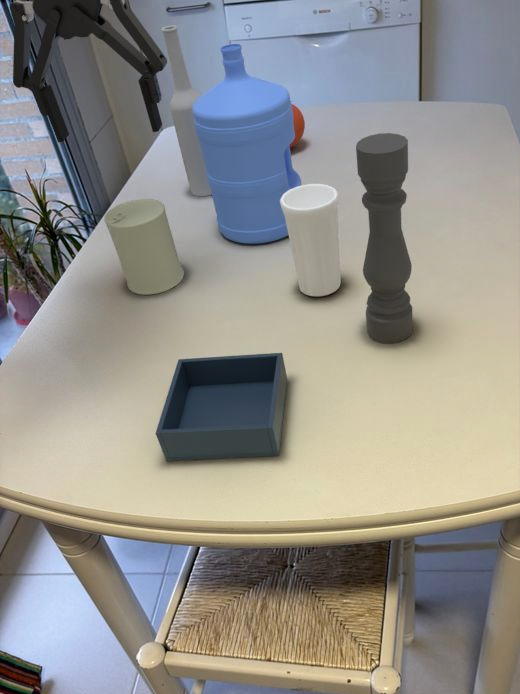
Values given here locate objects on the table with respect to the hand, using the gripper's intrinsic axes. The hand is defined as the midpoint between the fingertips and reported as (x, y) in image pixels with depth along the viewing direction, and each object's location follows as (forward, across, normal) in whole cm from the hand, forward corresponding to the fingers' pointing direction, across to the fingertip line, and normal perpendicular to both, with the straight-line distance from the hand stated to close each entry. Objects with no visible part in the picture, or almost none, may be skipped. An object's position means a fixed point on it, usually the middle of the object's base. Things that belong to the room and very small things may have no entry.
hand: (110, 133), depth 90 cm
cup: (+23, -27, +7) cm, 36 cm away
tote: (+23, -17, +35) cm, 45 cm away
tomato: (+23, -17, -49) cm, 57 cm away
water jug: (+23, -16, -15) cm, 32 cm away
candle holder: (+23, -37, +19) cm, 48 cm away
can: (+23, 0, +1) cm, 23 cm away
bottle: (+23, -3, -32) cm, 39 cm away
